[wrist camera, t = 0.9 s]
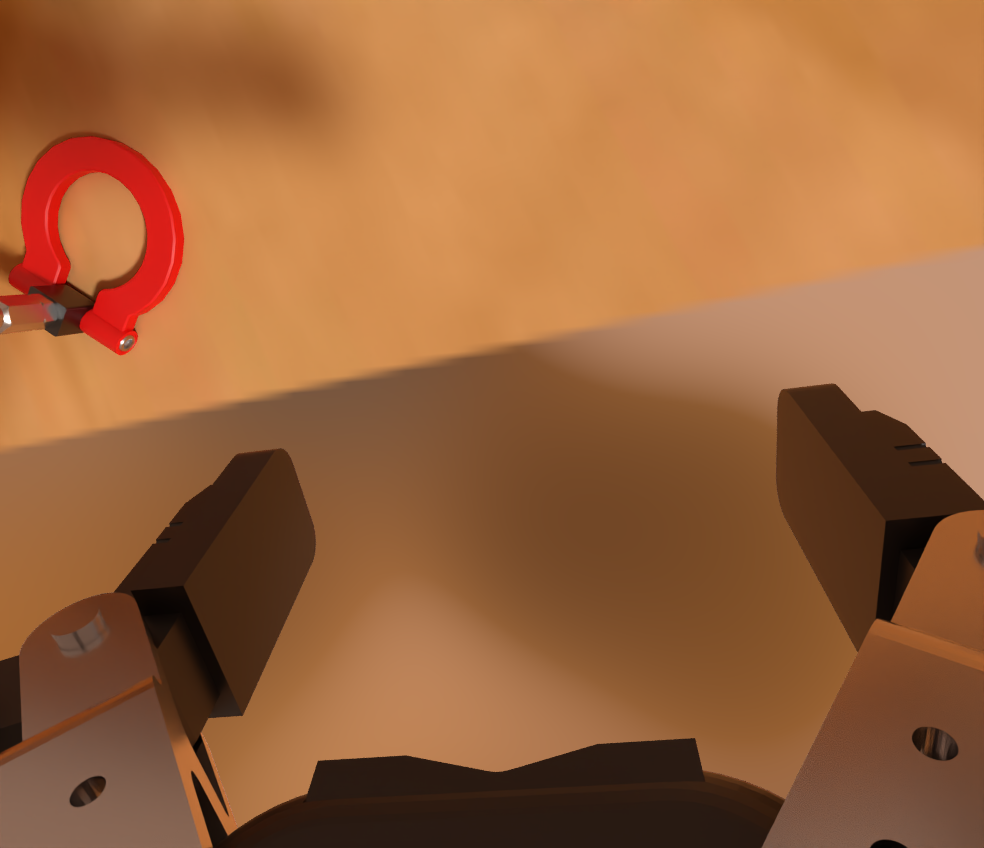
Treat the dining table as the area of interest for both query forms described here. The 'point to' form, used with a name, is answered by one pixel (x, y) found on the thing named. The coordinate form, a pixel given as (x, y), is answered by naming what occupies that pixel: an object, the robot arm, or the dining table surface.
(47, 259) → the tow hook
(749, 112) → the dining table surface
